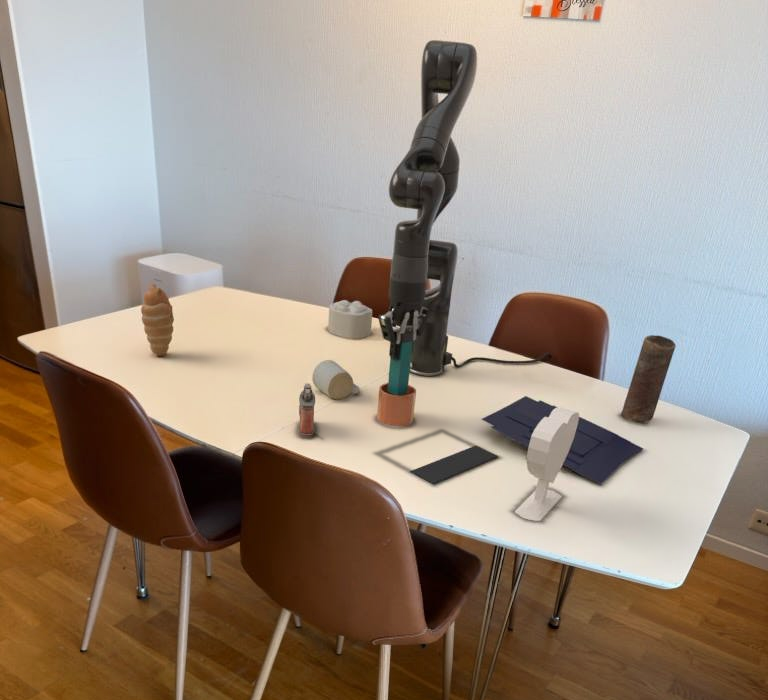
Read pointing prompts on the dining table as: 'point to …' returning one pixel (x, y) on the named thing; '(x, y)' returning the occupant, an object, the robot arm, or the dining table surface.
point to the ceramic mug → (333, 380)
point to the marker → (401, 366)
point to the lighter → (306, 412)
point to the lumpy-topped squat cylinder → (350, 319)
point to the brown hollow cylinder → (648, 378)
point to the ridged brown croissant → (157, 320)
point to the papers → (590, 444)
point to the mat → (454, 464)
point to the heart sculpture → (548, 460)
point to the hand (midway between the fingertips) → (400, 357)
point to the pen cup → (396, 406)
